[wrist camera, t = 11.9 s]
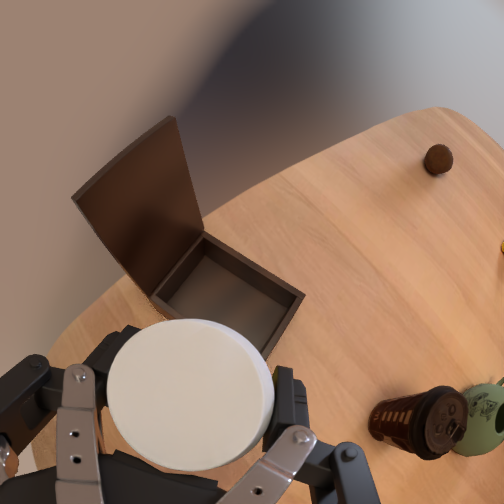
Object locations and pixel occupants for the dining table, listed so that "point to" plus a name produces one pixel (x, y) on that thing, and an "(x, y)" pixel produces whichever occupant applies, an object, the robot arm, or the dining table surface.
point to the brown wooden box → (227, 293)
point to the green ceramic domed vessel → (483, 420)
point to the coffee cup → (422, 422)
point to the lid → (144, 205)
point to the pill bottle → (190, 394)
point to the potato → (439, 159)
